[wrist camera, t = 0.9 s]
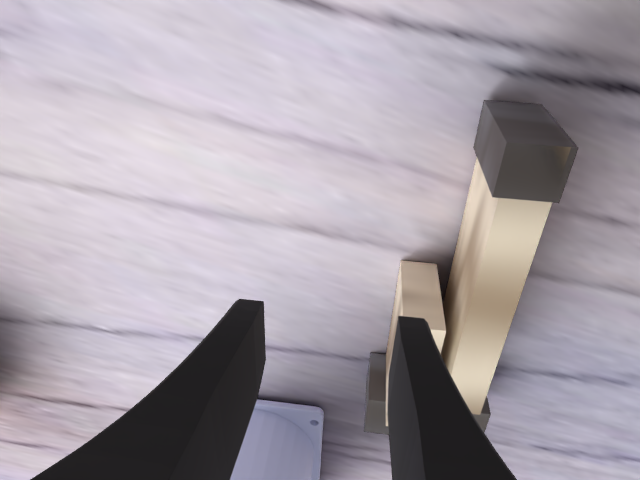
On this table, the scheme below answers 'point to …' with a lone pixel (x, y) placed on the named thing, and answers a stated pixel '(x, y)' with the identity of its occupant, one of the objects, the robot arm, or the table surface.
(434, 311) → the tong pivot
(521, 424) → the table surface
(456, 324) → the bar
